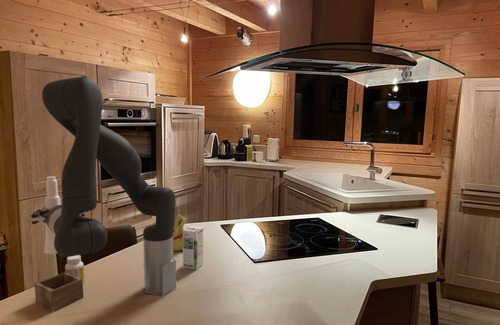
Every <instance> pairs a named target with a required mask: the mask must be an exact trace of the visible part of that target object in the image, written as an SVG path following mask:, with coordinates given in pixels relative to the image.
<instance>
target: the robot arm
mask: <svg viewBox="0 0 500 325" xmlns="http://www.w3.org/2000/svg"><path fill="white" fill-rule="evenodd" d="M102 94H103V93H102V91H101V88H100V87H99V85H98V83H97V82H96V81H95V80H94V79H93V78H91V77H88V76H77V77H71V78H65V79H57V80H54V81H50V82H47V84H45V86H44V87H43V89H42V93H41V95H42V96H41V97H42V102H43V104H44V107H45V108H46V110H47V112H48V113H49V114H50V116H52V117H53V119H55V121H57V122H58V123H59V124H60V126H62V127H64V128H65V129H66V130H67V131H68V132H69V133H70V134H71V135H72V136H74V140H73V144H72V147H71V149H70V151H69V153H68V156H67V158H66V159H65V161H64V164H63V168H62V172H61V178H60V179H61V181H60V182H61V184H60V185H61V203H60V204H61V205H57V206H55V207H53V208H45V205H44V206H43V207H42V208H41V209H36V210H35V211H34V212H33V213H32V214H30V219H31V220H30V222H31V225H36V224H38V223H40V222H41V221H42V222H43V223H45V225H46V224H47V226H48V227H49V228H50V230H51V231H52V232H53V233H54V235H55V239H54V247H55V250H56V252H57V254H58V255H59V256H60V257H62V258H68V257H71V256H77V255H80V256H81V255H87V254H93V253H94V254H95V253H97V252H100V251H101V250H103V249H104V247H105V246H106V245H107V242H108V231H107V228H106V227H105V225H104V224H103V223H102V222H101V221H99V220H97V219H94V218H90V217H85V216H86V213H87V212H90V211H93V210H95V209H96V207H97V205H98V202H97V201H98V199H97V197H98V196H97V177H96V176H97V174H96V173H97V172H96V170H97V162H99V164H100V165H101V166H102V167H103V169H104V170H105V171H106V172H107V173H108V174H109V175H110V176H111V177H112V178H113V179H114V180H115V182H117V184H118V185H119V186H120V187H121V189H123V191H124V192H125V193H126V194H127V196H128V198H130V200H131V202H132V204H133V205H134V207H135V208H136V209H137V211H139V212H140V213H142V214H143V215H146V216H151V217H155V223H154V224H150V225H148V226H145V227H144V229H143V231H142V238H143V239H142V240H143V242H142V243H143V245H142V246H143V275H144V277H143V278H144V279H143V280H144V291H145V293H147V294H150V295H161V296H164V295H167V294H168V293H169V292H171V291H173V290H174V289H177V260H176V259H174V251H173V230H174V226H175V218H176V204H177V202H176V196H175V195H176V194H175V191H174V190H173V189H171V188H170V187H163V186H154V185H150V184H149V183H148V182H147V181H146V180H145V179H144V178H143V177H142V166H143V165H142V160H141V159H142V158H141V157H140V155H139V153H138V152H137V151H136V149H135V147H134V146H132V144H131V143H130V142H129V141H128V140H127V139H126V138H125V137H123V136H122V135H121V134H119V133H117V132H115V131H113V130H112V129H109V128H108V127H106V126H104V125H102V123H101V122H102V114H103V95H102Z"/></svg>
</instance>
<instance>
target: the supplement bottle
mask: <svg viewBox="0 0 500 325" xmlns="http://www.w3.org/2000/svg"><path fill="white" fill-rule="evenodd" d="M81 257H82V256H81V255H77V256H71V257H66V262H67V263H66V264H65V265H64V272H66V273H69V274H71V275H73V276H76V277H78V278H81V279H83V286H84V285H85V267H84V266H85V265H84V262H83V261H82V258H81Z"/></svg>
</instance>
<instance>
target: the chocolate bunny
mask: <svg viewBox="0 0 500 325" xmlns="http://www.w3.org/2000/svg"><path fill="white" fill-rule="evenodd" d="M186 222H187V217H184V216H182V215H181V214H179V213H178V214H177V215H176V216H175V226H174V230H173V252H176V251H183V230H184V226H185V225H186Z"/></svg>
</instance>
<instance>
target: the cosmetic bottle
mask: <svg viewBox="0 0 500 325" xmlns="http://www.w3.org/2000/svg"><path fill="white" fill-rule="evenodd" d="M45 187H46V196H45V198H44V199H45V203H44V204H45V205H44V206H45V208H53V207H55V206H57V205H61V204H62V203H61V196H60V195H59V192H58V190H59V189H58V180H57V179H56V176H55V175H52V176H51V175H49V176H47V177H46V181H45ZM44 236H45V238H44V239H45V240H44V250H43V253H44V254H46V255H57V254H58V253H57V252H56V250H55V247H54V239H55V235H54V233H53V232H52V231H51V230H50V228H49V227H48V226H47V224H46V223H45V235H44Z"/></svg>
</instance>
